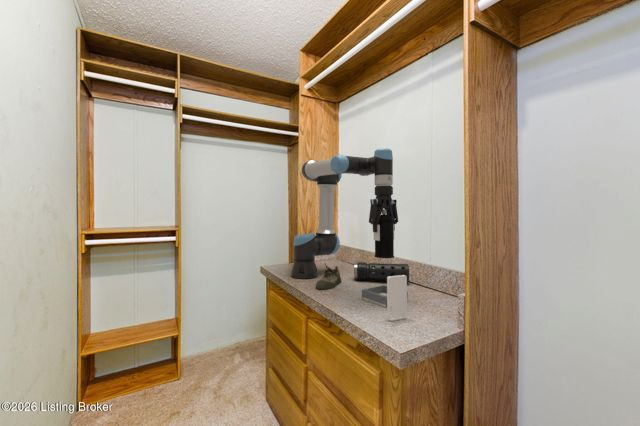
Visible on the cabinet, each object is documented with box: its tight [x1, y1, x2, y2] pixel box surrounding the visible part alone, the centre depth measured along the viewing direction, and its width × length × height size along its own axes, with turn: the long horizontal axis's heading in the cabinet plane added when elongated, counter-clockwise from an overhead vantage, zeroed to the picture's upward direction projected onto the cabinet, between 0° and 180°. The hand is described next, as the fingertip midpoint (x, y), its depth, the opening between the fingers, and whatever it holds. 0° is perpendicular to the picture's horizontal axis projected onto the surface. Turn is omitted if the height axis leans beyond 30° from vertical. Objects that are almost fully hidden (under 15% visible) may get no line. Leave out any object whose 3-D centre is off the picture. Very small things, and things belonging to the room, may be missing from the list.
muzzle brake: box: [353, 261, 410, 284], centre depth 150 cm, size 10×28×10 cm, turn 78°
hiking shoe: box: [315, 262, 342, 291], centre depth 141 cm, size 8×20×12 cm, turn 150°
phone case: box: [386, 275, 408, 322], centre depth 98 cm, size 7×1×15 cm, turn 111°
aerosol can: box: [374, 209, 395, 259], centre depth 119 cm, size 8×8×20 cm
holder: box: [361, 284, 409, 309], centre depth 120 cm, size 13×13×4 cm
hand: (384, 239), depth 119 cm, fingers closed on aerosol can, 8 cm apart
